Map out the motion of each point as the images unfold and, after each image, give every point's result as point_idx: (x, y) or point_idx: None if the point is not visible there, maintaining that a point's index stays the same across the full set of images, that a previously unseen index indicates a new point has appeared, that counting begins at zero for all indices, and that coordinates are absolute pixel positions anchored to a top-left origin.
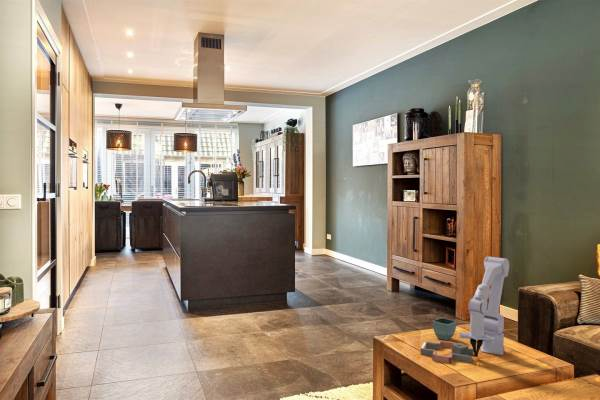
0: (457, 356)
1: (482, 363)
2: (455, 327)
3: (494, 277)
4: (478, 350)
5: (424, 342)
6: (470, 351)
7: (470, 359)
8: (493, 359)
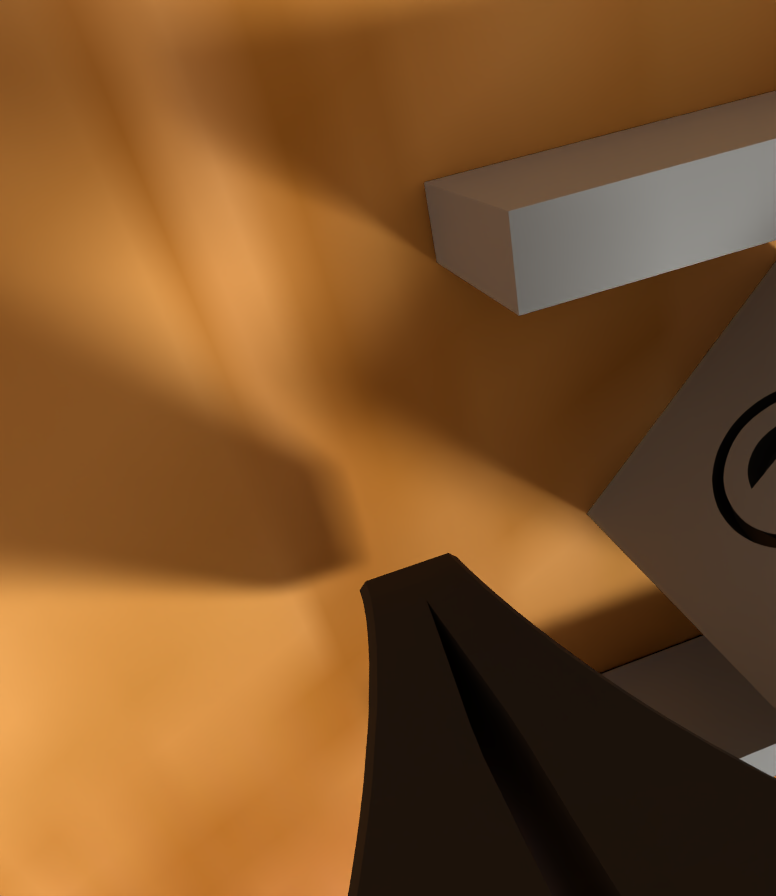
0: None
1: (108, 378)
2: None
3: None
4: (388, 764)
5: None
6: None
7: (501, 181)
8: (34, 827)
